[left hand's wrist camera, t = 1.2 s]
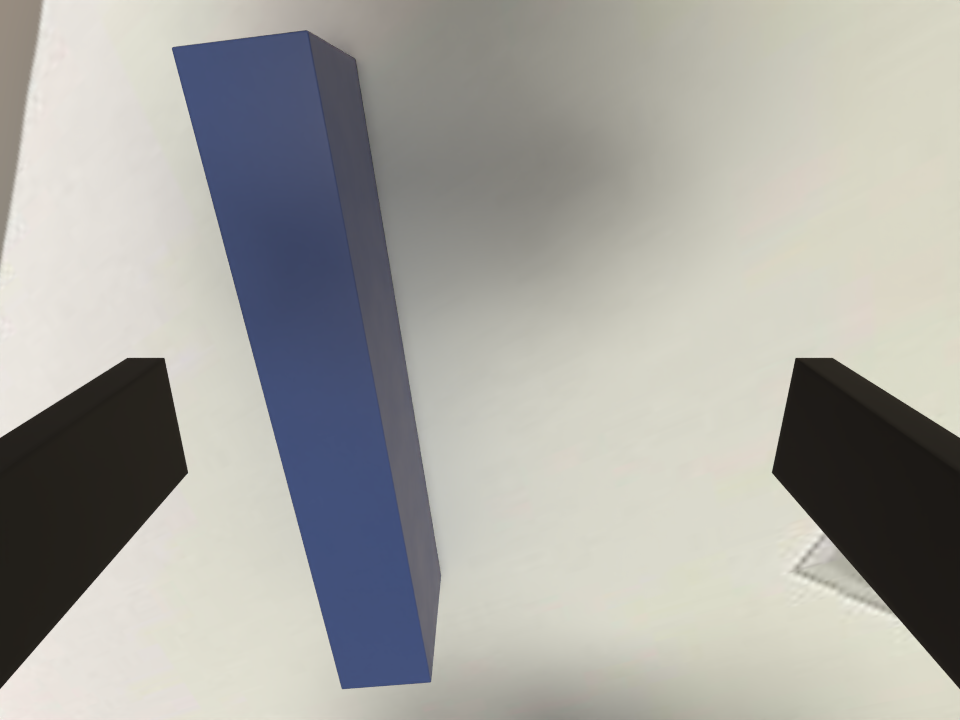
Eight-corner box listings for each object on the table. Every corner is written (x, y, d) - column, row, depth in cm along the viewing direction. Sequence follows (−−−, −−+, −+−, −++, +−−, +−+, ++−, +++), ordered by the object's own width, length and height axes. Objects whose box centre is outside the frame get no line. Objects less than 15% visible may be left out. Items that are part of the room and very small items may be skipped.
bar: (254, 70, 31) (170, 47, 22) (355, 58, 31) (307, 29, 22) (368, 582, 43) (341, 689, 35) (441, 576, 43) (431, 682, 34)
